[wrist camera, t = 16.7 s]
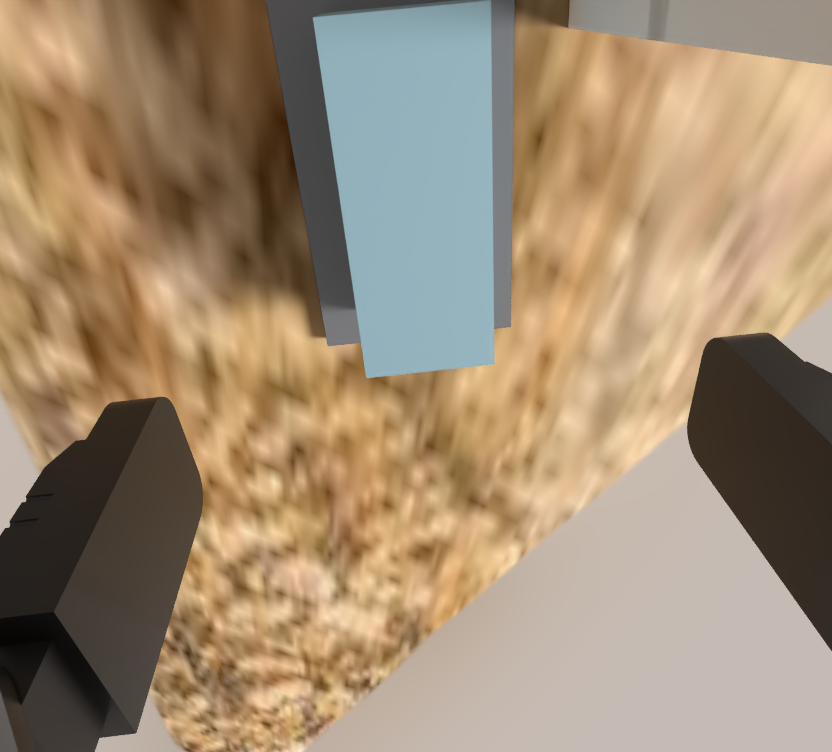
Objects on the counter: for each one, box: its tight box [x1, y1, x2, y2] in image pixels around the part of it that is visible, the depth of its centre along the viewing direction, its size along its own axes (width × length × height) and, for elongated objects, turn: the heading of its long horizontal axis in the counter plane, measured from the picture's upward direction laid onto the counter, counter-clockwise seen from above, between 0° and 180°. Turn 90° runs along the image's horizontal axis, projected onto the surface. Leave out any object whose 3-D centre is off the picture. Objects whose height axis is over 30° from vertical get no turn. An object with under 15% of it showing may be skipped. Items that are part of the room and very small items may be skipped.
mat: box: [266, 0, 515, 346], centre depth 25 cm, size 17×9×1 cm, turn 4°
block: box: [313, 0, 494, 378], centre depth 22 cm, size 12×5×6 cm, turn 5°
